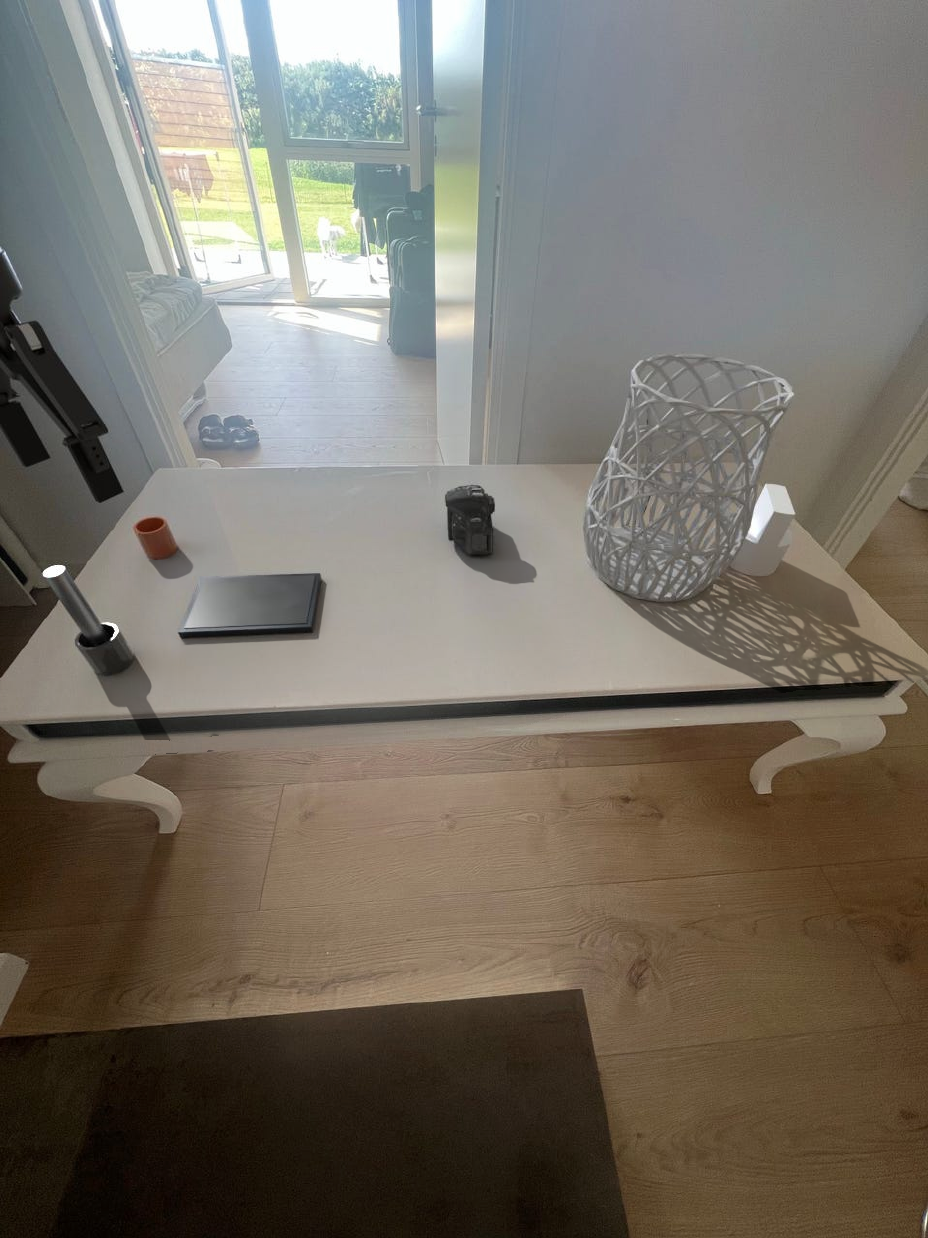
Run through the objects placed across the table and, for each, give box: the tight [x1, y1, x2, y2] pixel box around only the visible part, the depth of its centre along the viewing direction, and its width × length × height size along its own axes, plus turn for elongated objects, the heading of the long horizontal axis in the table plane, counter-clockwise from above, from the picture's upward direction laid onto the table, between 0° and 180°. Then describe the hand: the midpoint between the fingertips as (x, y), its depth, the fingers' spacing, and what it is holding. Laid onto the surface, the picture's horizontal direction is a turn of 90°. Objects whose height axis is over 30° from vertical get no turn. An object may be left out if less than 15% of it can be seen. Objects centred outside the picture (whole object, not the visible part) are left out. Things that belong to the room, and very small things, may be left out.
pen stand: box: [74, 621, 135, 677], centre depth 67 cm, size 5×5×5 cm
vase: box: [582, 353, 795, 603], centre depth 78 cm, size 24×24×30 cm
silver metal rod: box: [42, 564, 111, 647], centre depth 64 cm, size 2×2×15 cm
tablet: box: [177, 572, 322, 639], centre depth 77 cm, size 18×12×1 cm, turn 95°
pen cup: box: [132, 516, 178, 560], centre depth 85 cm, size 5×5×5 cm
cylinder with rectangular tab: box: [728, 483, 796, 577], centre depth 85 cm, size 9×9×12 cm
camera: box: [444, 484, 496, 556], centre depth 88 cm, size 13×10×10 cm
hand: (72, 478), depth 58 cm, fingers open, 13 cm apart
